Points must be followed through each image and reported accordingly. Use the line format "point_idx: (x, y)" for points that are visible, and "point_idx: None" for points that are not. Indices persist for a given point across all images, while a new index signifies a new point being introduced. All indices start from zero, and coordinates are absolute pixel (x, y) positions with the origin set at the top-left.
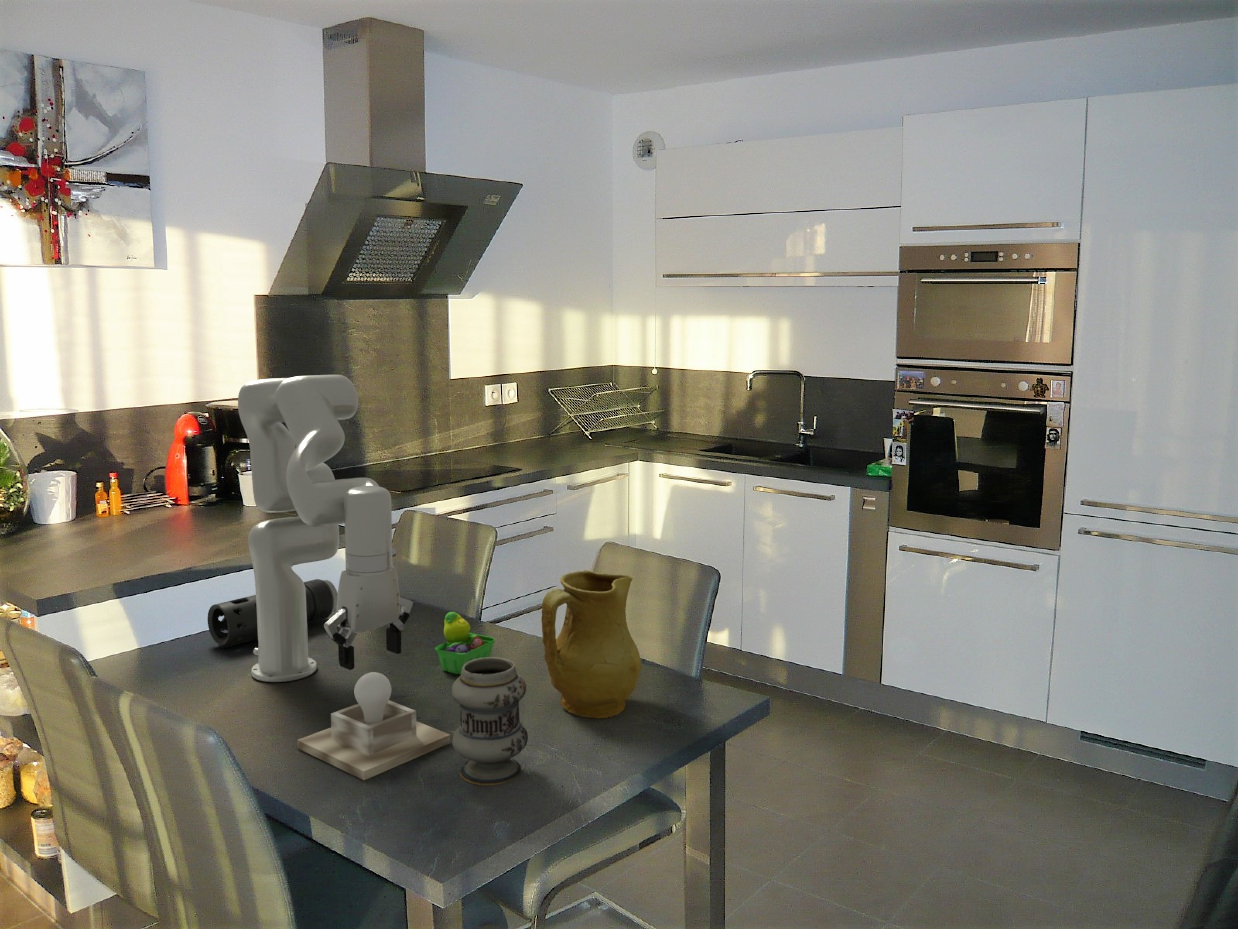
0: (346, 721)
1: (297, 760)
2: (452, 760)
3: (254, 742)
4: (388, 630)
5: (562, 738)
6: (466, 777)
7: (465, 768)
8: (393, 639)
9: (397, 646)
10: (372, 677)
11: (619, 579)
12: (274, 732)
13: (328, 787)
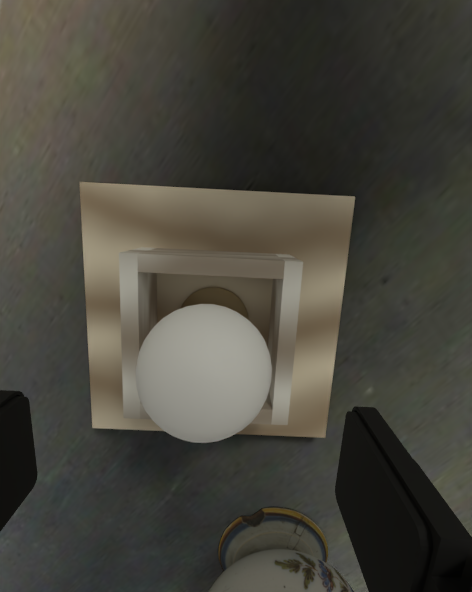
0: (122, 327)
1: (56, 238)
2: (264, 477)
3: (32, 55)
4: (414, 560)
5: None
6: (221, 548)
7: (240, 535)
8: (371, 546)
9: (351, 537)
10: (178, 425)
11: None
12: (102, 42)
13: (37, 386)
